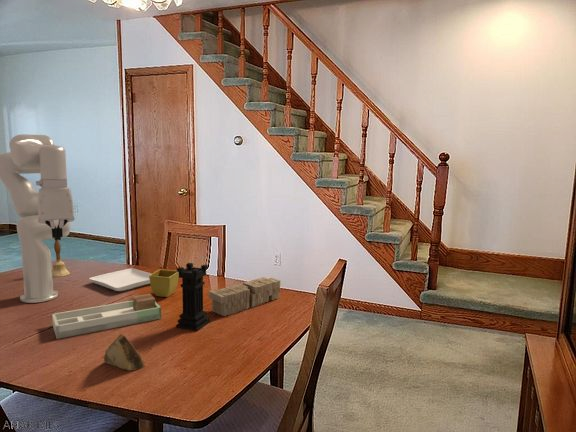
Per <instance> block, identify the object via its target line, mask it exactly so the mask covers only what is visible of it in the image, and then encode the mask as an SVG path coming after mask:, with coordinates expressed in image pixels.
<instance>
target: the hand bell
mask: <svg viewBox="0 0 576 432" xmlns="http://www.w3.org/2000/svg"><path fill="white" fill-rule="evenodd" d="M53 246H54V247H53V248H54V252H55V259H56V261H55V262H53V265H52V278H62V277H66V276H69V275H71V273H70V271H69V270H68V269H67V268H66V265H65V262H64V261H62V259H61V250H62V249H61V248H62V246H61V243H60V240H56V241H55V240H54V244H53Z"/></svg>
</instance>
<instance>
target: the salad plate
mask: <svg viewBox="0 0 576 432" xmlns="http://www.w3.org/2000/svg"><path fill="white" fill-rule="evenodd" d="M151 274H152V273H150V272H147V271H144V270H139V269H136V268H130V267H129V268H125V269H121V270H117V271H116V270H115V271H112V272H107V273H103V274H99V275H96V276H92V277H89V278H88V279H89V281H90V282H92V283H93V284H96V285H99V286H101V287H103V288H104V287H105V288H107V289H109V290H113V291H115V292H125V291H129V290H133V289H136V288H140V287H143V286H146V285H150V279H149V275H151Z"/></svg>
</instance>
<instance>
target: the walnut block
mask: <svg viewBox="0 0 576 432" xmlns="http://www.w3.org/2000/svg"><path fill="white" fill-rule="evenodd" d="M132 300H133V309H134V310H135V311H140V310H145V309H151V308H155V302H156V298H155V297H154V296H153V295H152V294H151V293H146V294H140V295H139V294H138V295H133V296H132Z"/></svg>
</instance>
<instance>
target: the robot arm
mask: <svg viewBox="0 0 576 432" xmlns="http://www.w3.org/2000/svg"><path fill="white" fill-rule="evenodd" d="M9 149H10V151H9V152H4V153H0V180H1V182H2V184H3V185H4V187H6V189H7V190H8V192H9V195H10V198H11V202H12V205H13V207H14V210H15V213H16V215H17V216H18V217H19V218H20V219H19V220H18V221H17V222H16V231H17V235H18V238H19V239H18V240H19V245H20V248H21V249H20V250H21V261H22V262H21V263H22V265H21V266H22V274H23V275H22V276H23V289H24V290H23V291H24V293H22V294H21V295H20V296H19V300H20V301H21V302H22V303H29V304H33V303H34V304H35V303H42V302H43V303H44V302H47V301H52V300H54V299H55V298H57V297H58V296H59V291H58V290H56V289H54V281H53V277H52V270H53V265H52V253H51V250H50V248H49V247H48V246H47V245H46V244H44V241H47V240H54V242H55V241H56V240H59V241H61V239H64V238H66V237H68V236H69V235H70V232H71V225H70V223H71V222H74V221H75V219H76V218H75V217H74V216H75V214H74V213H75V211H74V201H73V195H72V190H71V188H69V187H68V179H67V177H68V176H67V173H68V172H67V158H66V157H67V155H66V149H65V148H64V147H62V146H59V145H55V143H54V141H53V139H52V137H50V136H48V135H46V134H24V133H23V134H16V135H14V136H13V137H12V138H11V139H10V141H9ZM21 174H22V175H21ZM24 174H25V175H27V174H29V175H31V174H40V179H39V180H36V181H35V185H36V186H38V187H39V186H40V187H41V188H39V189H38V192H37V191H36V190H35V189H36V188H35V186H34V184H33V182H31V181H30V180H29V179H27V178H26V177H25V176H23V175H24Z"/></svg>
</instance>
